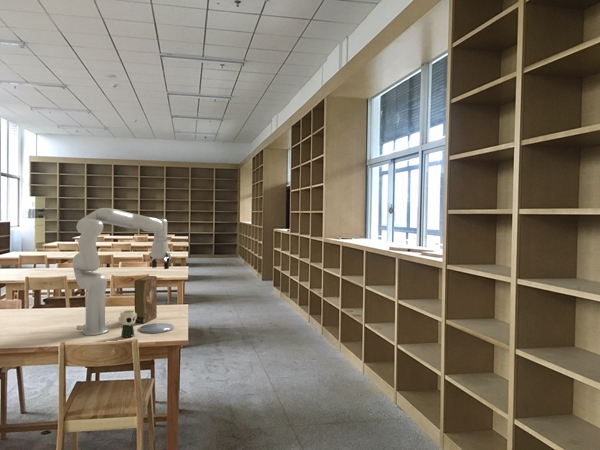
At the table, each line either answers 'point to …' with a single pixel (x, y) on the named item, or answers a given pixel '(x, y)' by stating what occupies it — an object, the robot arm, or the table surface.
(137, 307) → the book
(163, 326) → the saucer
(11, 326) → the table surface
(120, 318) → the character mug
